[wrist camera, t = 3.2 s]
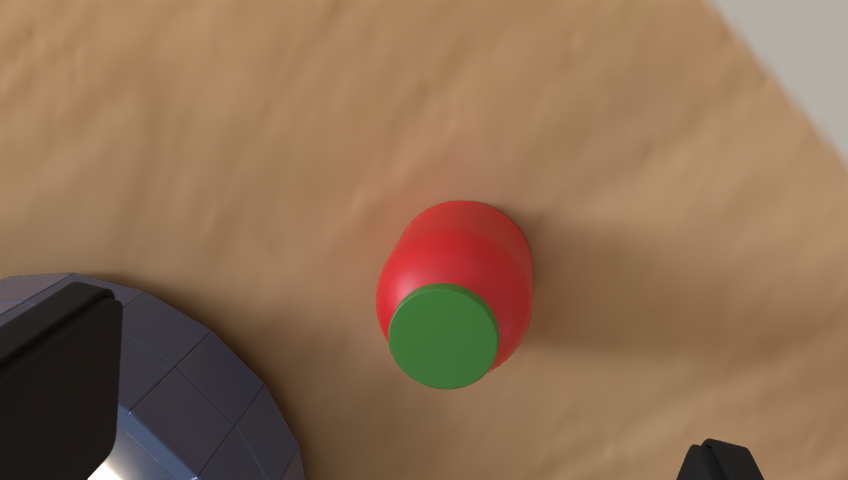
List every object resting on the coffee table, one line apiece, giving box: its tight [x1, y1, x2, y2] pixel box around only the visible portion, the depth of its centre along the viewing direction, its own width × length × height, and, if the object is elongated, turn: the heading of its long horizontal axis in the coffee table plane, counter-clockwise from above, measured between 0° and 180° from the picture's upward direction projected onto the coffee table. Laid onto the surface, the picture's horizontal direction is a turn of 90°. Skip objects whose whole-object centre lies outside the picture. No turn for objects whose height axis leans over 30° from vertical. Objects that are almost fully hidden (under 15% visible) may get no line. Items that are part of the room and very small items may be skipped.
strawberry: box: [376, 201, 533, 389], centre depth 17 cm, size 4×4×5 cm
